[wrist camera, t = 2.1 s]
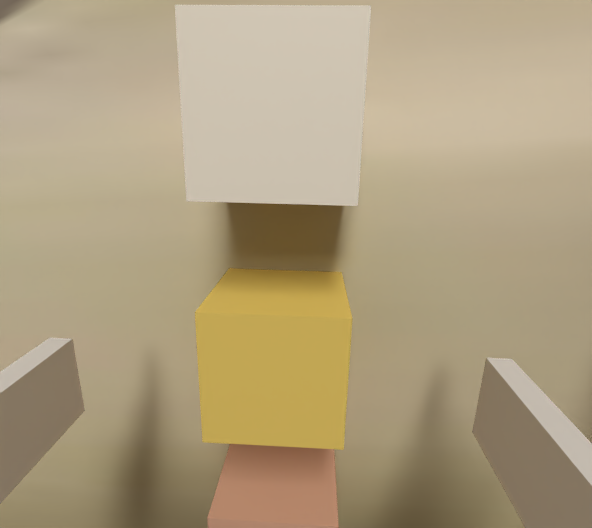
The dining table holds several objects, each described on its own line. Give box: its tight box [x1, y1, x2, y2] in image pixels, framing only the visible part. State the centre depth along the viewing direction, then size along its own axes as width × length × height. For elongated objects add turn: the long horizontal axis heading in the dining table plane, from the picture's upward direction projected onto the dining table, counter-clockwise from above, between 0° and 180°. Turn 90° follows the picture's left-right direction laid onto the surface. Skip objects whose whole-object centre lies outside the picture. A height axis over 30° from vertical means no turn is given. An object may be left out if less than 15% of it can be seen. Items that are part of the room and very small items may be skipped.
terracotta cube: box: [208, 444, 339, 528], centre depth 17 cm, size 5×5×5 cm
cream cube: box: [175, 5, 371, 206], centre depth 13 cm, size 5×5×5 cm
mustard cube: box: [195, 268, 352, 450], centre depth 15 cm, size 5×5×5 cm
